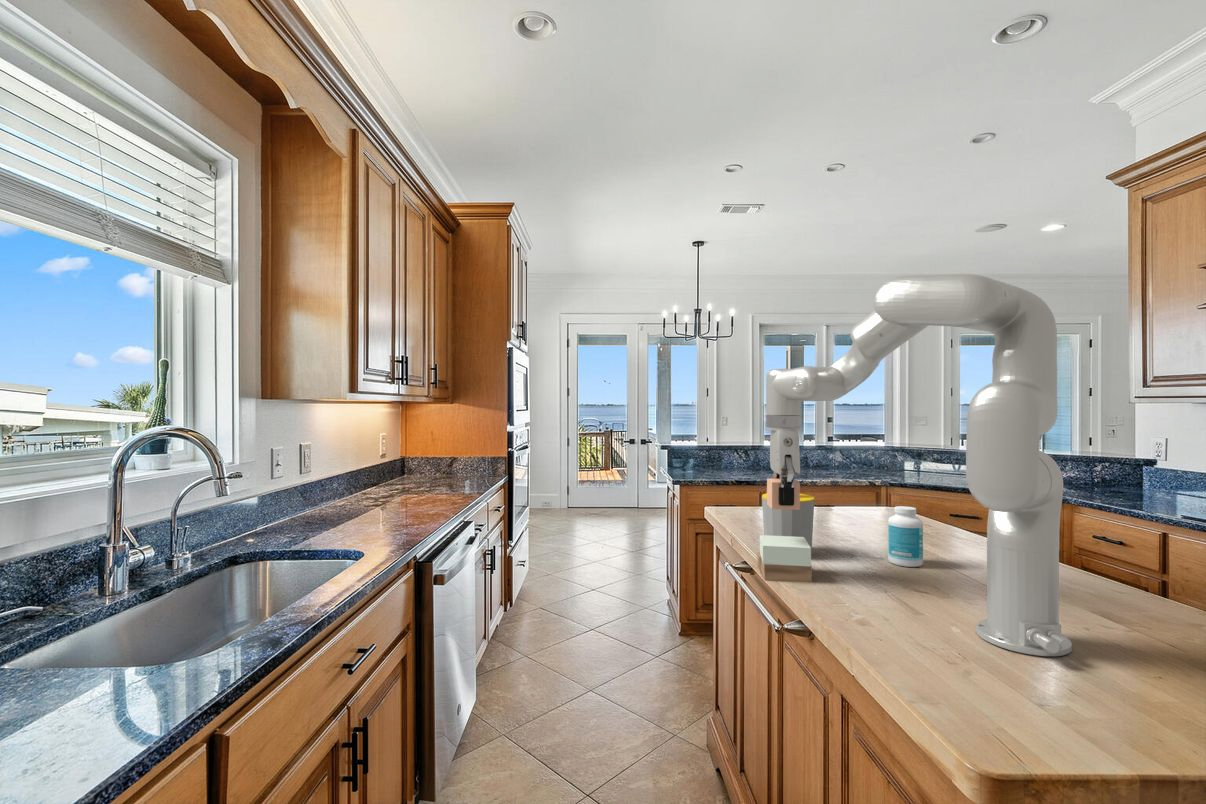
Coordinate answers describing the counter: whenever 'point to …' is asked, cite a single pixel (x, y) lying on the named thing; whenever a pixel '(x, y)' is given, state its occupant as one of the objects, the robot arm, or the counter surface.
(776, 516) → the soap bottle
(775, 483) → the cube
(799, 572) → the tower base
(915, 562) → the pill bottle
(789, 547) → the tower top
